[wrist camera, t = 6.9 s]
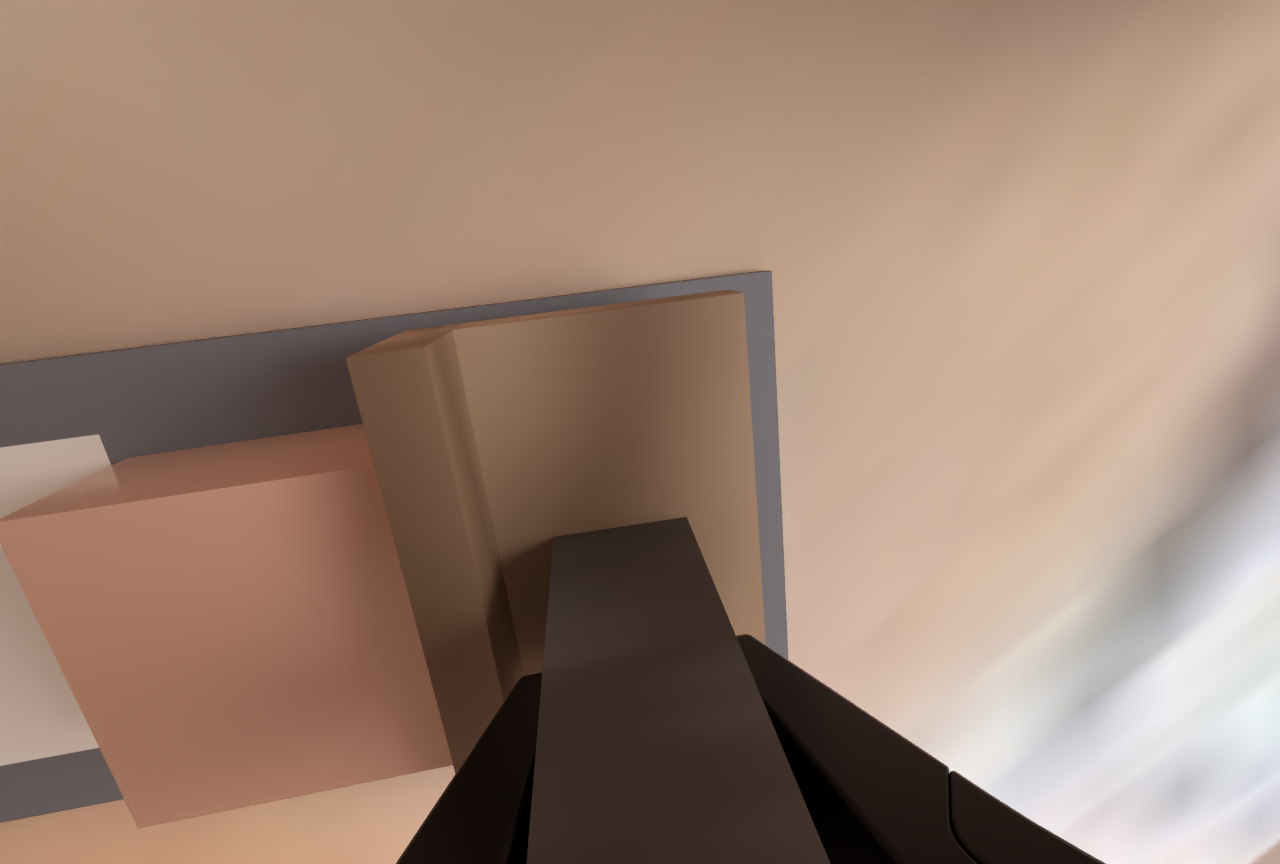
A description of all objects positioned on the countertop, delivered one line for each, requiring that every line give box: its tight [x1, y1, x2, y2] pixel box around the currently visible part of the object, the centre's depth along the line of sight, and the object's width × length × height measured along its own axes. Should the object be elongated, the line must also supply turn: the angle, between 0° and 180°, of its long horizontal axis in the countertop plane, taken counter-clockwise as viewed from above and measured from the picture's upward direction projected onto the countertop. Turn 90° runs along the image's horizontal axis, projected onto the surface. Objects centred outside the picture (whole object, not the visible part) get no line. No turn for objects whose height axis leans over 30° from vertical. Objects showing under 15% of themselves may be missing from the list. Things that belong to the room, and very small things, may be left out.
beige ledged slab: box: [346, 289, 830, 864], centre depth 8 cm, size 6×10×8 cm, turn 7°
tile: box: [0, 424, 453, 828], centre depth 11 cm, size 6×6×3 cm
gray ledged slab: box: [0, 271, 788, 823], centre depth 12 cm, size 22×10×2 cm, turn 96°
